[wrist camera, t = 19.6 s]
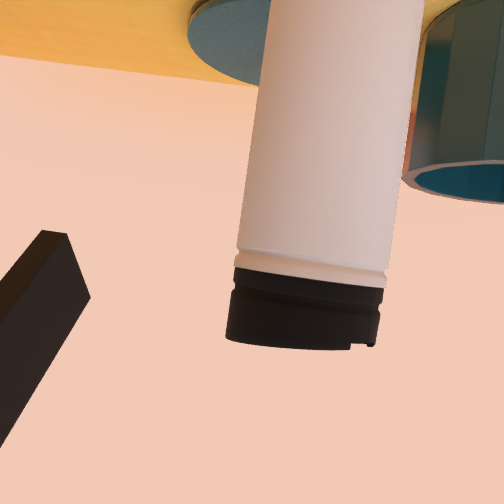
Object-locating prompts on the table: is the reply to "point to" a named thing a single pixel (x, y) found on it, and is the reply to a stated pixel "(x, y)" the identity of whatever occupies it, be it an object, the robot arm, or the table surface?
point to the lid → (231, 36)
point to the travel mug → (324, 172)
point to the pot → (459, 106)
